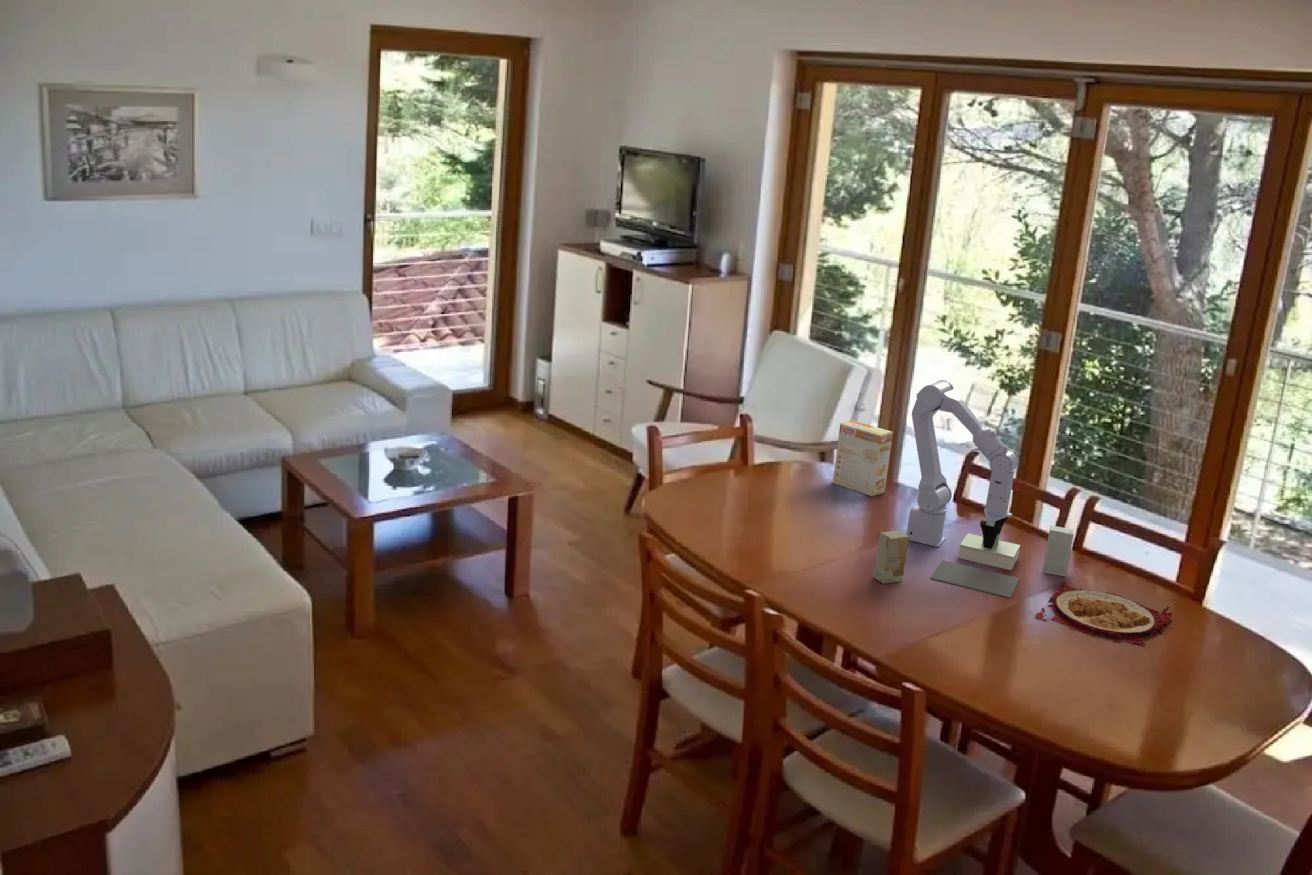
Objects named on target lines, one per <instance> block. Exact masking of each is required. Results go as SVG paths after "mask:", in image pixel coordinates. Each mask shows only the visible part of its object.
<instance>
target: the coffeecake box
mask: <svg viewBox="0 0 1312 875" xmlns="http://www.w3.org/2000/svg"><path fill="white" fill-rule="evenodd" d="M838 431H839V432H838V437H837V446H836V453H835V454H836V455H835V462H834V470H833V477H832V484H835V485H837V486H840V487H843V488H847V489H848V490H849V489H850V490H852V491H856V492H858V493H860V494H864V495H866V496H870V497H875V496H877V495H882V494H884V493H885V491H886V485H887V478H888V471H889V470H888V469H889V462H890V456H891V450H892V442H893V434H894V431H891V430H887V429H885V428H880V427H877V426H874V425H870V424H867V423H864V422H860V421H856V420H854V419H851V420H848V421H843V422H840V423H839V430H838Z"/></svg>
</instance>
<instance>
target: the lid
mask: <svg viewBox="0 0 1312 875" xmlns="http://www.w3.org/2000/svg"><path fill="white" fill-rule="evenodd" d="M959 548H964V549H969V550H973V551H977V552H982V553H986V554H990V555H995V556H999V557H1003V558H1008V559H1012V560H1013V559H1014V558H1015V556H1016V554H1017V552H1018V550H1019V551H1020V549H1021V544H1017V543H1013V542H1008V541H1003V540H1001V533H1000V534H997V537H996V539H995V542H994V545H993V547H992V549H989V548H984V545H983V535H982V536H981V535H977V534H973V533H969V532H968V533H967V534H966V535H965V537H964V538H963V540H962V541H961V543H960V544H959ZM1019 548H1020V549H1019Z"/></svg>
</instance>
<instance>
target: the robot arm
mask: <svg viewBox="0 0 1312 875" xmlns="http://www.w3.org/2000/svg"><path fill="white" fill-rule="evenodd" d="M938 411H941V412H946V413H949V414H950V413H951V414H952V415H953V416H955V418H956V419H957V420H958V421H959V422H960V424H962V425H963V426H964V427H965V428H966V429H967V431H968V432H970V434H971V435H972V443H973V444H974V446H975V447H976V448H977V449H978V450H979V451H980V453H981V454H982V455H983V456H984V457H985V459H987V461H988V462H989V465H988V466H989V469H990V471H991V476H990V480H989V485H988V490H987V497H986V502H985V507H984V510H983V513H984V515H985V518H986V520H983V519H982V520H980V522H979V526H980V529H981V532H982V537H983V545H984V548H989V549H992V547H993V545H994V542H995V539H996V537H997V534H1000V535H1001V532H1002V529H1003V527H1004V524H1005V523H1006V521H1007V520H1008V519H1009V518H1011V517H1012V516H1013V514H1012V513H1011V512H1008V511H1009V505H1010V501H1011V500H1010V498H1011V494H1012V488H1013V483H1014V475H1015V471H1014V470H1016V469H1017V468H1018V466H1019V464H1020V458H1019V456H1018V454H1017V452H1016V451H1015V450H1013V449H1010V448H1009V446H1007V445H1005V443H1003V441H1002V440H1001V439H1000V437H999V436H997V435H998V432H997V431H996V430H992V429H991V427H986V426H983V425H982V424H981V422H980V421H979V419H978V418H977V417H976V415H975V414H974V412H972V410H971V409H970V408H969V406H968V405H967V403H966V402H965V401H964V400H963V397H962V396H961V394H960V392H959V390H957V389H956V388H955V387H954V386H953V384H952V382H950V381H948V380H945V379H940V380H937V381H936V382H934V383H932V384H927V385H924V386H923V387H922V388H921V389H920V390H919V391H918V392H917V393H916V400H915V402H914V405H913V408H912V411H911V418H912V424H913V425H912V426H913V431H914V438H915V444H916V450H917V451H916V452H917V456H918V461H919V462H918V463H919V469H920V470H919V471H920V475H921V478H920V480H919V484H918V494H917V499H916V502H917V505H913V506H911V507H910V508H911V509H910V512H909V514H908V515H909V516H908V522H907V527H906V533H905V534H906V535H908V536H909V542H910V541H911V542H915V543H920V544H924V545H927V546H928V545H929V546H932V547H936V548H940V547H941V545H942V544H943V542H944V541H945V540H946V536H943V534H944V533H943V532H944V528H945V520H946V516H947V514H946V513H947V505H948V504H949V503H950V501H951V500H952V497H953V494H952V490H951V488H950V487H949V485H948V482H947V478H946V477H945V476H944V475H943V474H942V469H941V461H940V456H939V449H938V443H937V437H936V430H935V426H934V425H935V423H934V416H935V415H936V414H937V412H938Z"/></svg>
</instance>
